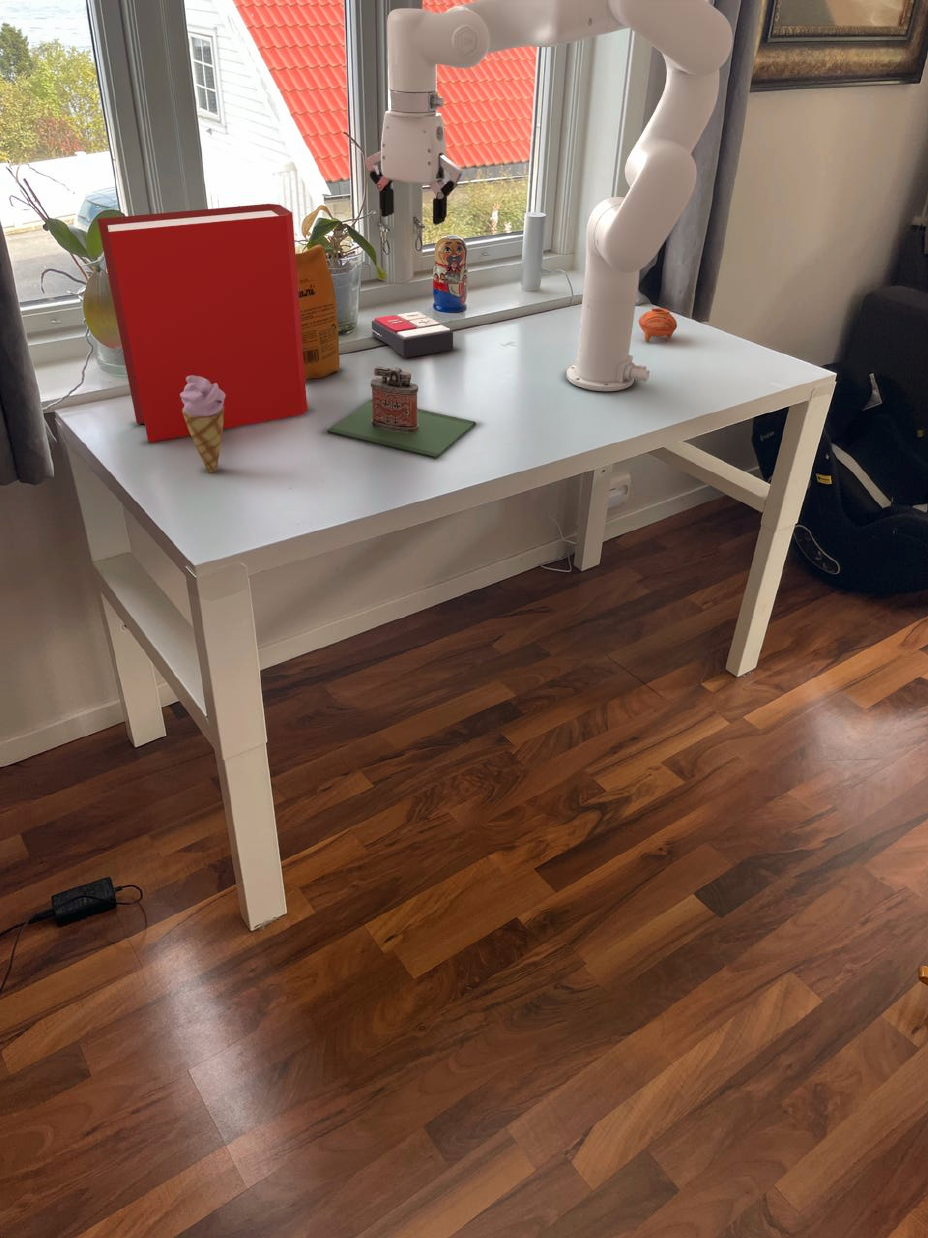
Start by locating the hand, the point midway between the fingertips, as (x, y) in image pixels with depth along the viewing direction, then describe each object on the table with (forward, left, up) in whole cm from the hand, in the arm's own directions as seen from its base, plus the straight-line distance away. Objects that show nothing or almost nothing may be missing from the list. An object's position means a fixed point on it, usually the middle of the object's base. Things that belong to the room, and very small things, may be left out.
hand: (413, 218), depth 156 cm
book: (+20, +30, -28) cm, 46 cm away
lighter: (-7, +20, -28) cm, 35 cm away
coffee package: (+20, +6, -28) cm, 35 cm away
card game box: (+10, -18, -28) cm, 35 cm away
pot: (-33, -45, -28) cm, 63 cm away
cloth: (-8, +19, -28) cm, 35 cm away
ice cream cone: (+10, +46, -28) cm, 55 cm away
